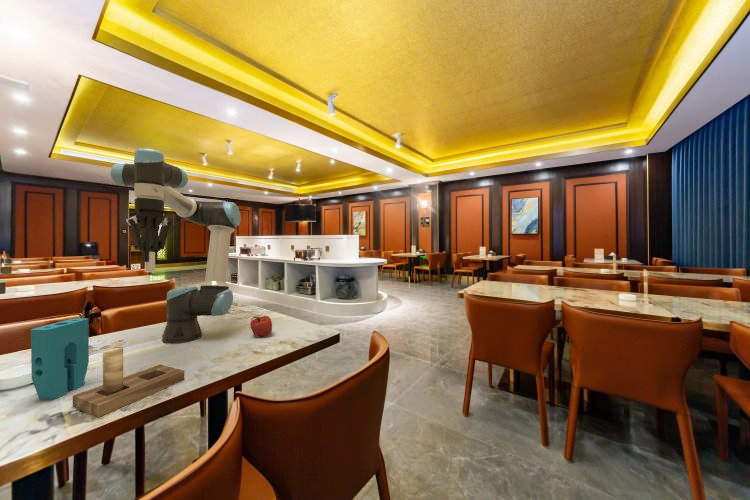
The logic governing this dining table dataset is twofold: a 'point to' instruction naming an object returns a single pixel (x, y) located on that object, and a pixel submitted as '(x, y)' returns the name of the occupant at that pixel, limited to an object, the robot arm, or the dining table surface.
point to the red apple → (261, 326)
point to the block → (59, 357)
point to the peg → (112, 371)
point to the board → (128, 390)
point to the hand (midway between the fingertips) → (149, 271)
